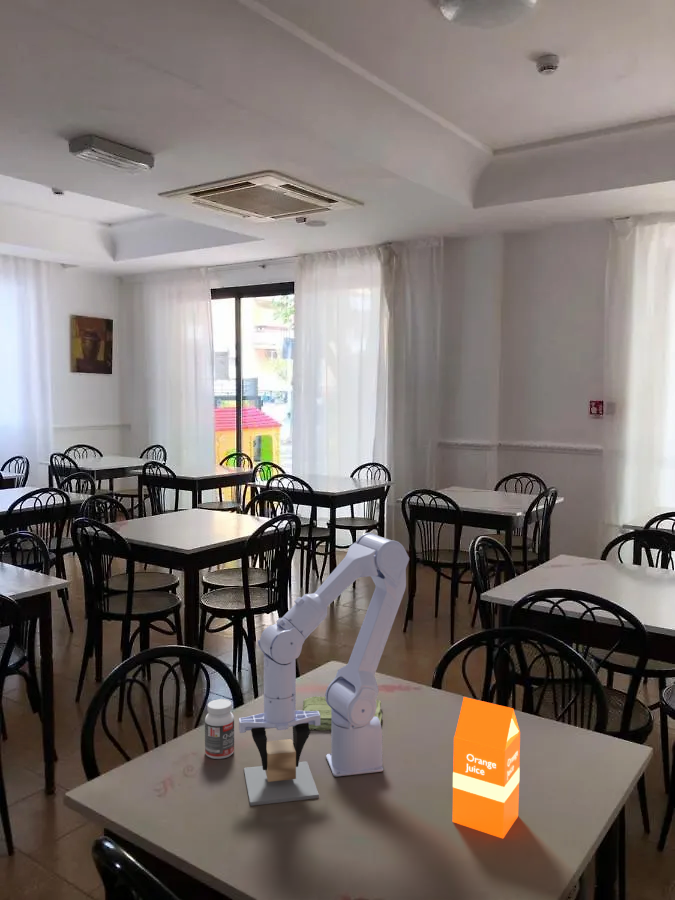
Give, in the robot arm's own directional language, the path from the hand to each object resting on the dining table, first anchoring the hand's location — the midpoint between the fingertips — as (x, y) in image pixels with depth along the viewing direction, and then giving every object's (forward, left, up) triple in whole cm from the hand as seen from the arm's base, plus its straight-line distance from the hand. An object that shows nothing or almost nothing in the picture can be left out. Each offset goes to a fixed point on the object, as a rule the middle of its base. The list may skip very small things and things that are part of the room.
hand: (280, 765), depth 134 cm
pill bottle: (+10, -14, -4) cm, 18 cm away
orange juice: (-32, +18, -4) cm, 37 cm away
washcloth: (-17, -24, -4) cm, 30 cm away
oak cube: (0, 0, -1) cm, 1 cm away
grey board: (0, 0, -3) cm, 3 cm away
